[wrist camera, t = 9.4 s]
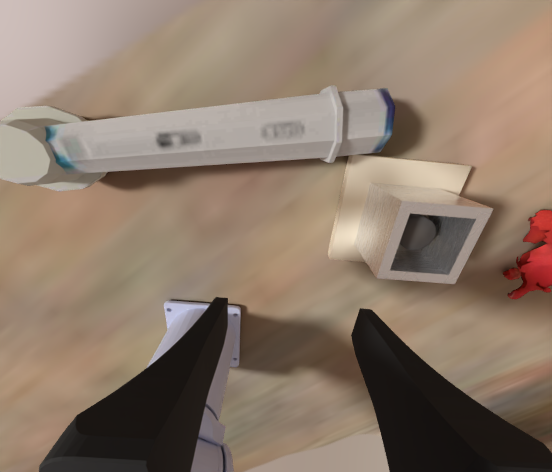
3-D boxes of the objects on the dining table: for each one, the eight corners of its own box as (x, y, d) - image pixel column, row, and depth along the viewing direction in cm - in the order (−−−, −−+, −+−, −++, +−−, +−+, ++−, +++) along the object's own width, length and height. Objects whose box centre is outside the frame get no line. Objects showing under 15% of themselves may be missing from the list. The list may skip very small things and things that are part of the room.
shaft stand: (420, 261, 22) (453, 292, 18) (327, 253, 21) (339, 283, 17) (462, 164, 18) (516, 174, 14) (349, 153, 18) (370, 160, 13)
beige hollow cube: (414, 249, 20) (454, 284, 15) (354, 244, 20) (376, 278, 15) (438, 188, 18) (493, 208, 13) (370, 182, 17) (402, 200, 13)
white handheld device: (391, 166, 14) (-41, 212, 12) (347, 156, 20) (52, 186, 18) (403, 66, 12) (-119, 102, 10) (351, 88, 18) (16, 114, 16)
